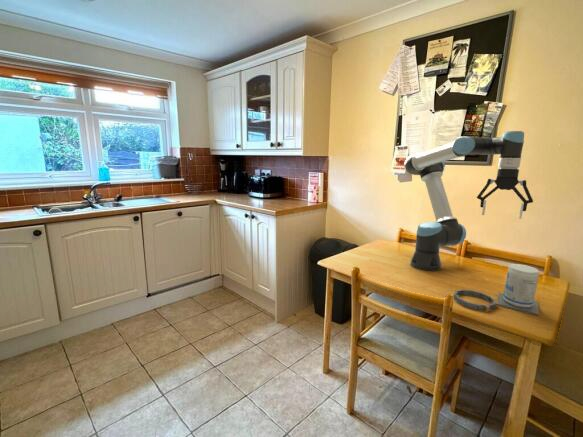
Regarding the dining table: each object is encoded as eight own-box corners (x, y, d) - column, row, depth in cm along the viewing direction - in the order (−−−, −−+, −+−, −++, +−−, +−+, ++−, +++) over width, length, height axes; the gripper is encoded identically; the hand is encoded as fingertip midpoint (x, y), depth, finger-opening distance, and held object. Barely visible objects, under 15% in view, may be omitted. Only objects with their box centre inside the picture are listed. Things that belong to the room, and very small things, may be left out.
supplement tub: (497, 297, 123) (502, 263, 120) (520, 297, 123) (526, 263, 120) (514, 308, 113) (521, 272, 110) (539, 308, 113) (546, 272, 110)
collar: (451, 303, 118) (451, 298, 118) (457, 291, 129) (457, 286, 129) (496, 315, 109) (497, 310, 109) (498, 301, 120) (499, 296, 120)
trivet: (496, 305, 117) (496, 303, 117) (498, 293, 127) (498, 292, 127) (538, 315, 109) (539, 314, 109) (537, 302, 120) (537, 301, 119)
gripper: (473, 167, 133) (467, 214, 137) (546, 169, 118) (537, 221, 122) (475, 167, 138) (470, 212, 143) (545, 168, 124) (536, 218, 128)
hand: (501, 216), depth 132 cm, fingers open, 13 cm apart
